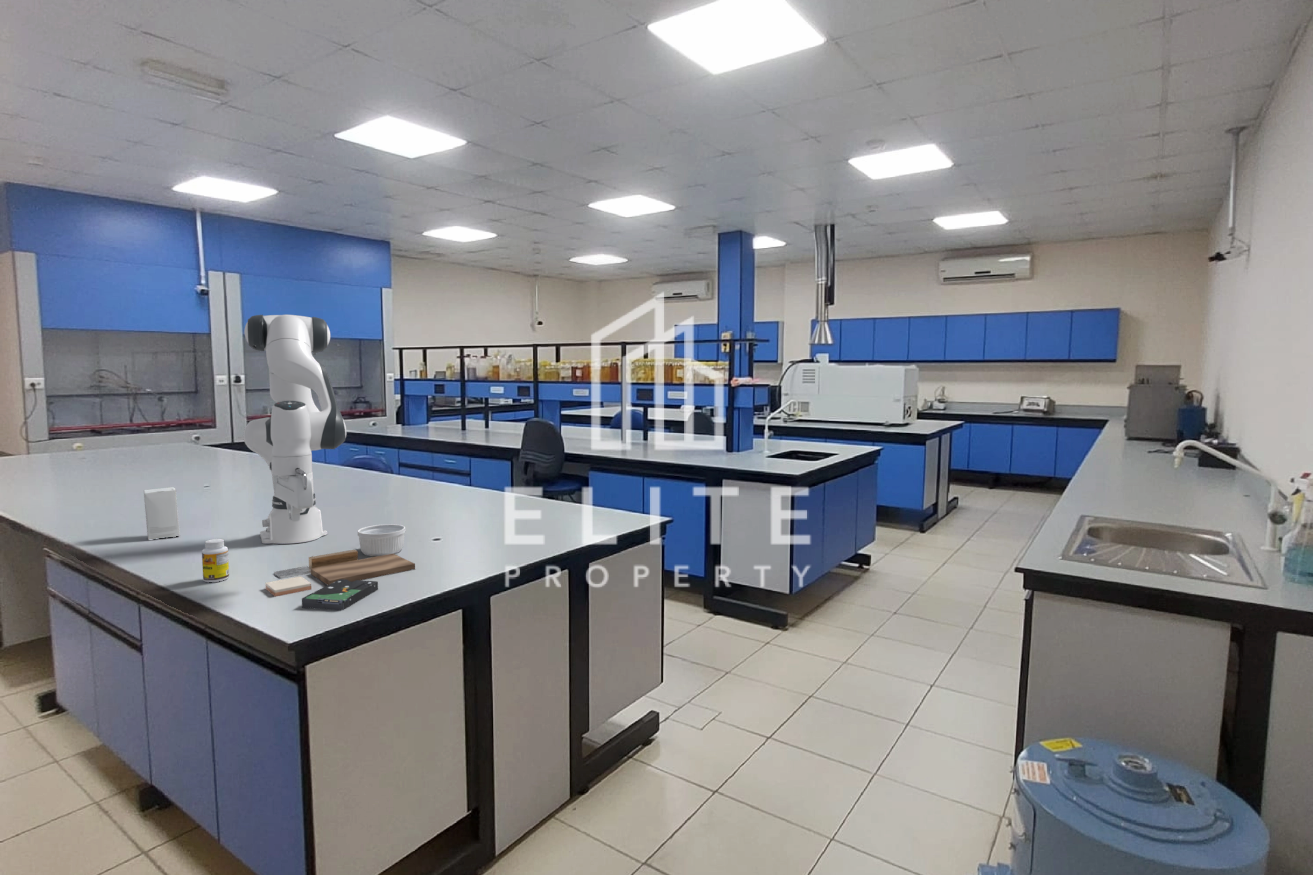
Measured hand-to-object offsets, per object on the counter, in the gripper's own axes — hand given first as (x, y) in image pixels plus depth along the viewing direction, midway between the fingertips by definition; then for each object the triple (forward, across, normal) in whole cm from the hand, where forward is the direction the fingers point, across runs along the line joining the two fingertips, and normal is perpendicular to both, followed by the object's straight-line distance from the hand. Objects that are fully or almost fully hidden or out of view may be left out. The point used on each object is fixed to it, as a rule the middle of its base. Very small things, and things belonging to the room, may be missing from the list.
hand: (294, 520), depth 167 cm
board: (+16, -3, -16) cm, 22 cm away
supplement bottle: (+16, +14, +15) cm, 26 cm away
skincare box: (+17, +76, +18) cm, 80 cm away
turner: (+16, +8, -8) cm, 19 cm away
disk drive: (+16, -21, -4) cm, 27 cm away
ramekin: (+16, +14, -27) cm, 35 cm away
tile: (+15, -2, +4) cm, 16 cm away
